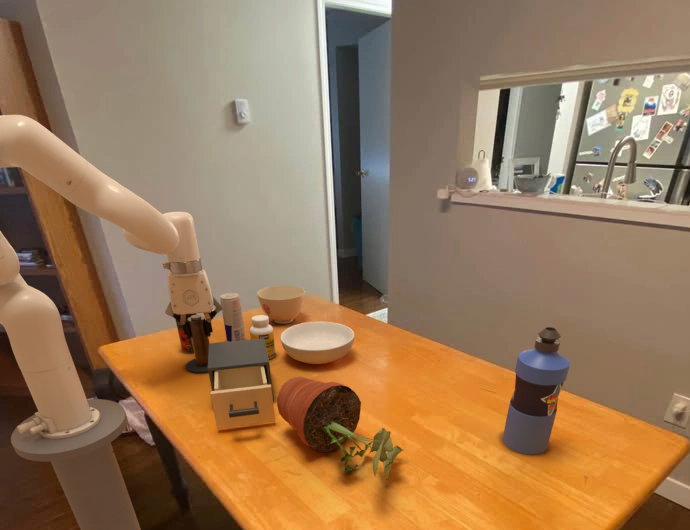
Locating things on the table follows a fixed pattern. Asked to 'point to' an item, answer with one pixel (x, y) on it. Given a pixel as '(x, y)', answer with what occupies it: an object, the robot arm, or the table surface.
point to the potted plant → (331, 420)
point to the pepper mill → (199, 339)
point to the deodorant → (185, 337)
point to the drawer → (242, 397)
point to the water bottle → (536, 395)
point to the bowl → (281, 302)
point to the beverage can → (232, 317)
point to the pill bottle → (263, 333)
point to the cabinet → (238, 357)
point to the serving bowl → (317, 341)
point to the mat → (196, 367)
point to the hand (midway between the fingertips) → (199, 335)
